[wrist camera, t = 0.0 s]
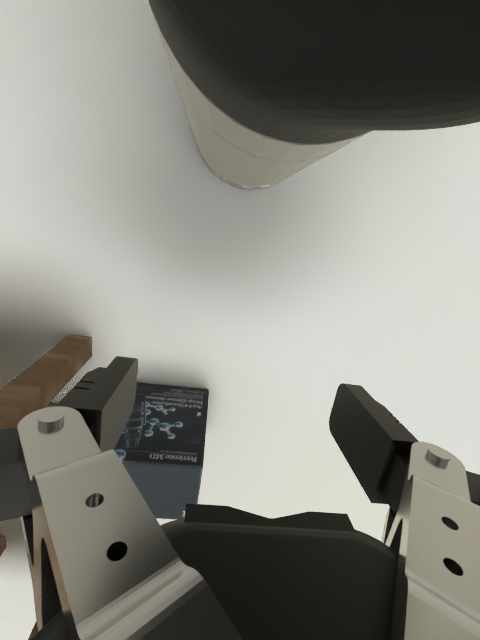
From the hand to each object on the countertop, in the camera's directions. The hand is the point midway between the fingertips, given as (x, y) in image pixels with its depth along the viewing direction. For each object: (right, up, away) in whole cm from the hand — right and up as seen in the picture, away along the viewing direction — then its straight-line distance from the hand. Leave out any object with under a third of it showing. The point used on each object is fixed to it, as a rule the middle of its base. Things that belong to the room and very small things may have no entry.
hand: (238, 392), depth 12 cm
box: (-7, -6, +20) cm, 22 cm away
